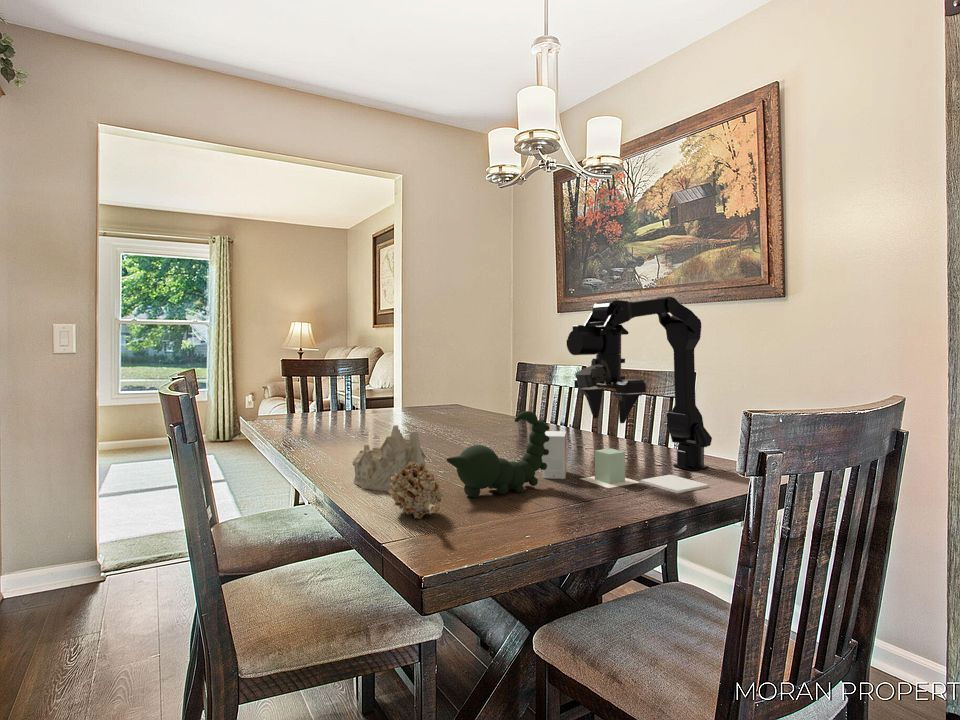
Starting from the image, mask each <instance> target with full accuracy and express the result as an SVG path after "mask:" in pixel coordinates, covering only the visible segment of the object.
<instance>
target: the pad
mask: <svg viewBox="0 0 960 720" xmlns="http://www.w3.org/2000/svg"><path fill="white" fill-rule="evenodd" d="M640 483H642V484H645V485H648V486H651V487H655V488H658V489H662V490H664V491H667V492H672V493H675V494H682V493H687V492H692V491H697V490H701V489H707V488H709V484H707V483H703V482H699V481H697V480H692V479H689V478H685V477H682V476H677V475H673V474H665V475H661V476H660V475H659V476H655V477H648V478H643V479H640Z"/></svg>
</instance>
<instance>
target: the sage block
mask: <svg viewBox="0 0 960 720" xmlns="http://www.w3.org/2000/svg"><path fill="white" fill-rule="evenodd" d="M594 476H595V480H598V481H601V482H604V483H607V484H612V483H618V482H623V481H625V478H626V452H625V451H624V450H623V451H622V450H619V449H614V448H611V447H610V448H603V449H596V450H594Z"/></svg>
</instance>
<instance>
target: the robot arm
mask: <svg viewBox="0 0 960 720" xmlns="http://www.w3.org/2000/svg"><path fill="white" fill-rule="evenodd" d="M669 313H670V314H671V315H670V314H669ZM650 315H657V317H658V323H660V325H661V326H662V327H663V329H664V330H665V333H666V340H667V342H668V343H669V345H670V346H671V348H672V350H673V371H674V374H673V377H674V379H673V380H674V382H673V383H674V406H673V408H672V410H671V411H667V413H666V420H667V421H666V426H665V427H666V428H668V433H669V435H670V439H671V442H672V443H677V451H676V455H677V456H676V459H677V460H676V463H673V465H672V466H673V467H675V468H679V469H684V470H687V471H691V472H693V471H700V470H706V469H709V468H710V466H709V465H706V464H705V448H708V447H710V446H711V445H712V440H713V437H712V436H711V434H710V433H709V432H708V430H707V429H706V428H705V426H704V421H703V420H704V419H703V416H702V414H701V412H700V410H699V408H698V407H697V405H696V378H695V377H696V376H695V375H696V372H695V371H696V370H695V369H696V368H695V366H696V365H695V349H696V347H697V345H698V343H699V342H700V340H701V335H702V334H701V333H702V321H701V319H700V318H699V317H698V316H697V315H696V314H695V313H694V312H693V311H692V310H691V309H690V308H688V307H686V306H684V305H683V304H682V303H680V302H679V301H678V300H677V299H676V298H675V297H673V296H659V297H656V298H651V299H644V300H637V301H629V300H622V299H621V300H620V299H612V300H611V299H610V300H602V301H600V300H599V301H597V302H595V303H594V305H593V307H592V311H591V312H590V314H589V316H588V317H587V319H586V320H585V323H584V324H581V325H580V324H575V325H574V324H573V325H572V331H570V332H569V334H568V336H567V339H566V347H567V350H568V352H569V354H571V355H573V356H588V355H589V356H591V355H593V356H594V355H595V358H591V359H592V360H591V362H590V363H591V365H588V366H586V367H585V368H582V369H580V370H578V371H577V372H575V373H574V375H575V379H574V388H576V389H577V391H578V392H580V393H582V394H583V395H584V396H585V399H586V400H587V401H586V402H587V403H588V406H589V409H590V412H591V415H592V418H593V419H598V418H599V415H600V410H601V406H602V405H601V404H602V400H603V394H604V388H607V389H615V391H616V393H614V394H613V395H614V396H615V398H616V399H617V401H618V419H619V423H620V424H625V423H626V421H627V419H628V416H629V415H630V413H631V411H632V408H633V406H634V405H635V403H636V402H637V400H638V398H639V397H642V396H643V394H644V393H646V392H647V383H646V381H645V380H643V379H638V378H637V379H635V378H629V379H628V378H626V376H624V375H622V364H626V358H623V357H622V336H623V335H624V336H625V335H626V336H627V335H629V333H630V332H629V331H628V330H627V329H626V328H624V325H622V324H625V323H626V322H629V321H631V320H632V319H634V318H637V317H638V318H639V317H644V316H645V317H646V316H650Z"/></svg>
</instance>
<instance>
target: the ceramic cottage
mask: <svg viewBox="0 0 960 720" xmlns="http://www.w3.org/2000/svg"><path fill="white" fill-rule="evenodd" d="M390 434H391V435H389V436H388V435H387V436H386V438H385V439H384V442H383V443H382V444H381V446H379V447H373V448H372V449H371V448H370V445H369V444H364V445H363V449H362V450H359V452H358V453H357V455H356V457H354V459H353V461H352V465H353V468H354V478H353V484H354V483H355V484H354V485H356V484H357V485H359V486H358V487H360V488H362V487H363V488H362V489H366V490H370V491H371V490H372V491H374V490H375V491H380V492H383V491H384V492H388V491H389V490H390V489H391V488H392V486H391V485H390V483H392V482H393V481H392V480H391V477H393V476H395V472H396V473H399V472H401V470H402V469H403V468H404V465H405V466H406V467H407V465H408V463H409V462H411V461H412V462H416V463H418V464H419V465H421V463H423V464H424V465H425V466H426V464H427V463H426V461H425V459H426V457H427V455H425V453H424V451H423V449H422V448H421V442H420V438H419V431H418V430H411V431H410V434H409V438H405V437H404V436H403V433H402V432H401V429H399V425H397V424H394V425H393V426H392V429H391V433H390ZM357 485H356V486H357Z"/></svg>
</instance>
